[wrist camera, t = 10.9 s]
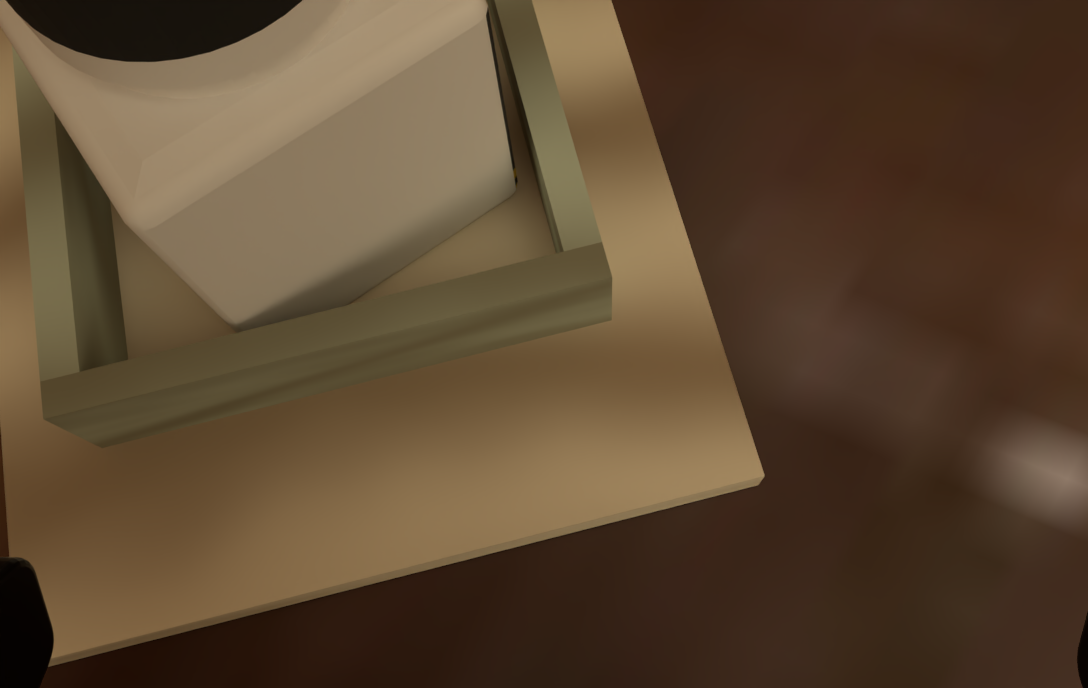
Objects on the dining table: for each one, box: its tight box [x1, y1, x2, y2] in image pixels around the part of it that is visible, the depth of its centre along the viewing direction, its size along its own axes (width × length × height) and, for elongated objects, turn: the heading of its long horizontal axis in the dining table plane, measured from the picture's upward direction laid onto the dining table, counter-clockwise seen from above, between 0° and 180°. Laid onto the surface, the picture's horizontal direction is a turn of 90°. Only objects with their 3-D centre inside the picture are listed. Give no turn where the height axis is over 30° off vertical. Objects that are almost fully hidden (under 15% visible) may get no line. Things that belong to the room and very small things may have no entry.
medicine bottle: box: [0, 0, 518, 333], centre depth 19 cm, size 7×7×12 cm
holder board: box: [0, 0, 765, 667], centre depth 24 cm, size 20×16×4 cm
